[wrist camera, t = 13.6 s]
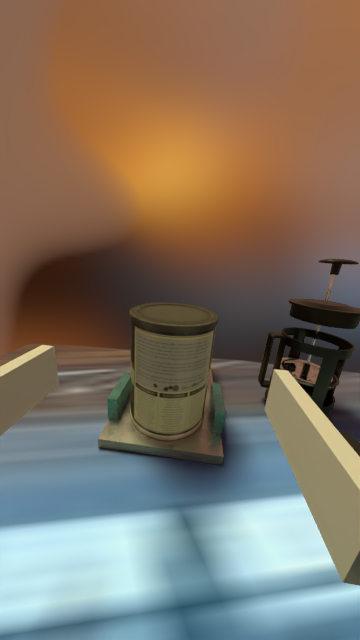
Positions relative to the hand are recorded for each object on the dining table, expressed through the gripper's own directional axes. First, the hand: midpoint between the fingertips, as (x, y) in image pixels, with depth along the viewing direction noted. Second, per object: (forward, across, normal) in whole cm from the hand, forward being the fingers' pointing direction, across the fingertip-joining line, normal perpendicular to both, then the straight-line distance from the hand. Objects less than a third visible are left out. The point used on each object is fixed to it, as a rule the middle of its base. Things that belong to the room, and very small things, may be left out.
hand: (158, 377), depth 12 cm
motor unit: (+16, -1, -14) cm, 22 cm away
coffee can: (+12, -1, -13) cm, 18 cm away
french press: (+18, +19, -15) cm, 30 cm away
